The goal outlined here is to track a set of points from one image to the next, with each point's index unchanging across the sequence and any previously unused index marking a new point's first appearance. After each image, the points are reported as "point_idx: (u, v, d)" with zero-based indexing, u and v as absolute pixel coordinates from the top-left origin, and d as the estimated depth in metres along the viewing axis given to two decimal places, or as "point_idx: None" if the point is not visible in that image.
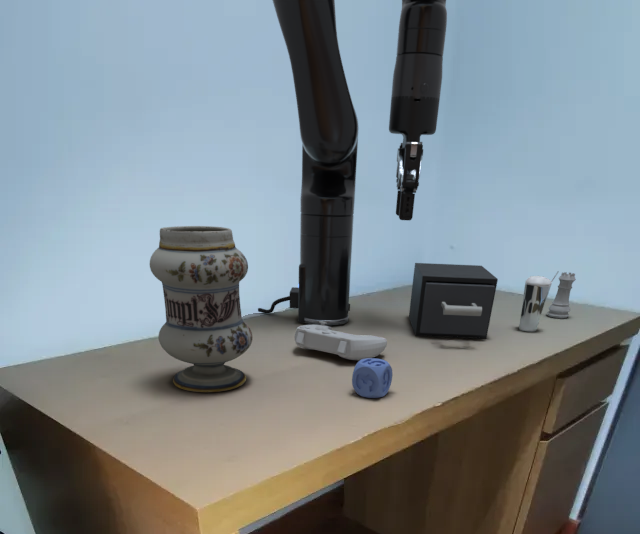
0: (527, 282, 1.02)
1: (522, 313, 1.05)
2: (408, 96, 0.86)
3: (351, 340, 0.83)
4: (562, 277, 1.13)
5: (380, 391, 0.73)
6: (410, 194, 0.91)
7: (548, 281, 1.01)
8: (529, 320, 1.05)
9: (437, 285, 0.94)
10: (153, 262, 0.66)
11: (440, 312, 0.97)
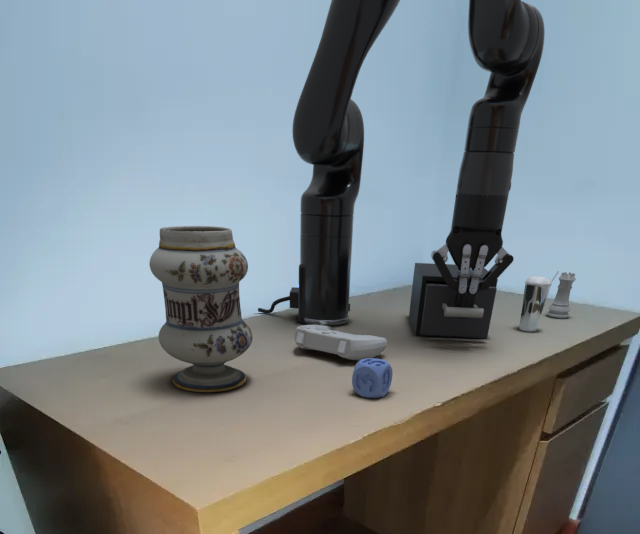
0: (527, 282, 1.02)
1: (522, 313, 1.05)
2: None
3: (351, 340, 0.83)
4: (562, 277, 1.13)
5: (380, 391, 0.73)
6: (457, 293, 0.91)
7: (548, 281, 1.01)
8: (529, 320, 1.05)
9: (438, 286, 0.93)
10: (153, 262, 0.66)
11: (441, 314, 0.96)
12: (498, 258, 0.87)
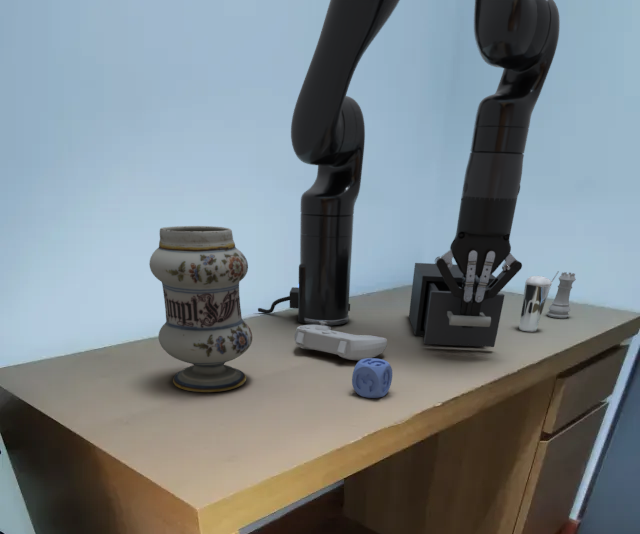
0: (527, 282, 1.02)
1: (522, 313, 1.05)
2: None
3: (351, 340, 0.83)
4: (562, 277, 1.13)
5: (380, 391, 0.73)
6: (462, 301, 0.86)
7: (548, 281, 1.01)
8: (529, 320, 1.05)
9: (443, 293, 0.89)
10: (153, 262, 0.66)
11: (446, 322, 0.91)
12: (506, 265, 0.83)
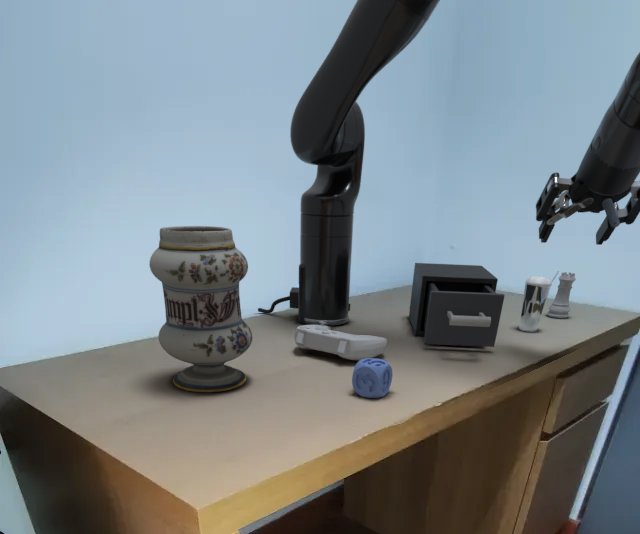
0: (527, 282, 1.02)
1: (522, 313, 1.05)
2: (594, 135, 0.73)
3: (351, 340, 0.83)
4: (562, 277, 1.13)
5: (380, 391, 0.73)
6: (544, 221, 0.85)
7: (548, 281, 1.01)
8: (529, 320, 1.05)
9: (443, 293, 0.89)
10: (153, 262, 0.66)
11: (446, 322, 0.91)
12: (633, 195, 0.80)
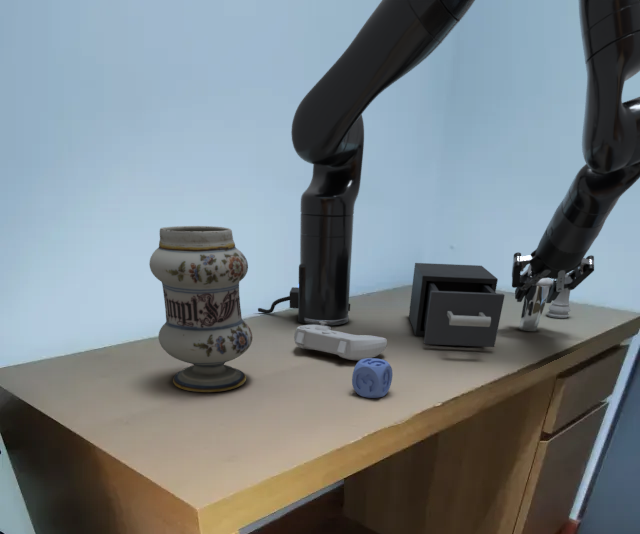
0: None
1: (523, 313, 1.05)
2: (549, 223, 0.90)
3: (351, 340, 0.83)
4: None
5: (380, 391, 0.73)
6: None
7: (549, 281, 1.01)
8: (530, 320, 1.05)
9: (443, 293, 0.89)
10: (153, 262, 0.66)
11: (446, 322, 0.91)
12: (580, 268, 0.97)
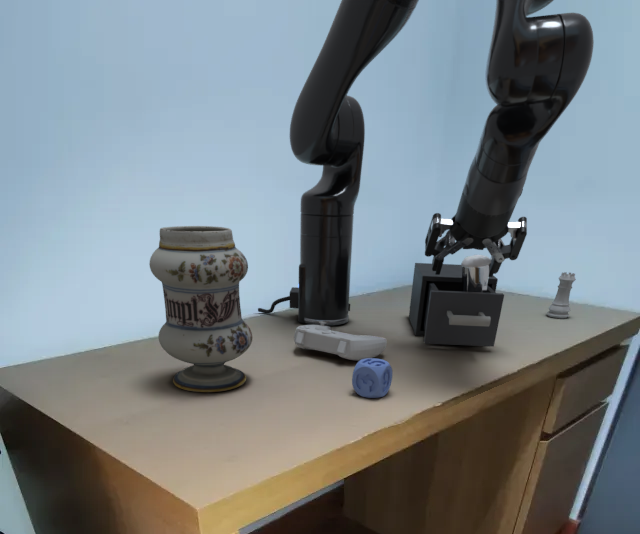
0: (463, 264, 0.89)
1: None
2: None
3: (351, 340, 0.83)
4: (562, 277, 1.13)
5: (380, 391, 0.73)
6: None
7: (486, 259, 0.88)
8: None
9: (442, 293, 0.89)
10: (153, 262, 0.66)
11: (445, 322, 0.91)
12: (512, 234, 0.83)
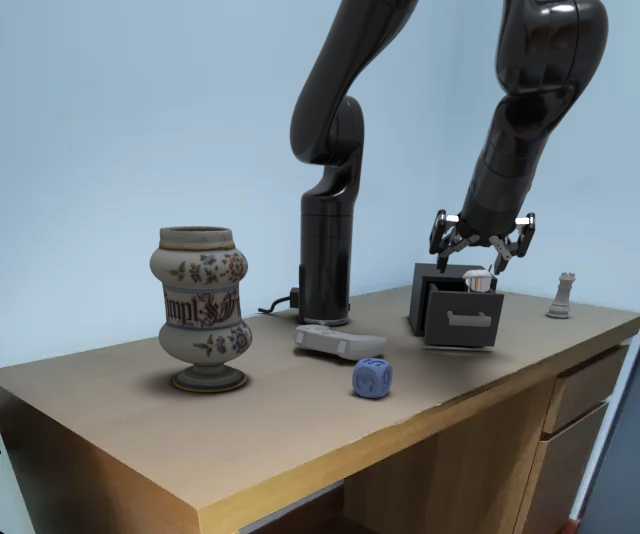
0: (470, 276, 0.90)
1: None
2: None
3: (351, 340, 0.83)
4: (562, 277, 1.13)
5: (380, 391, 0.73)
6: (439, 253, 0.86)
7: (489, 273, 0.91)
8: None
9: (443, 293, 0.89)
10: (153, 262, 0.66)
11: (446, 322, 0.91)
12: (520, 231, 0.80)
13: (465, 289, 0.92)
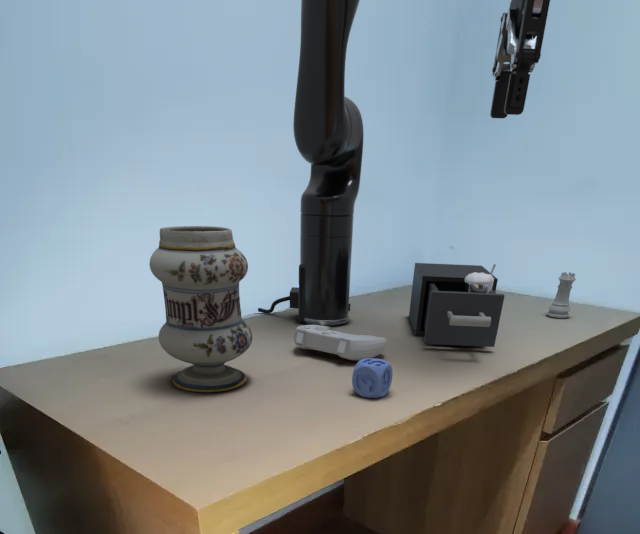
0: (471, 281, 0.89)
1: None
2: None
3: (351, 340, 0.83)
4: (562, 277, 1.13)
5: (380, 391, 0.73)
6: (525, 74, 0.66)
7: (492, 277, 0.90)
8: None
9: (443, 293, 0.89)
10: (153, 262, 0.66)
11: (446, 322, 0.91)
12: None
13: None
